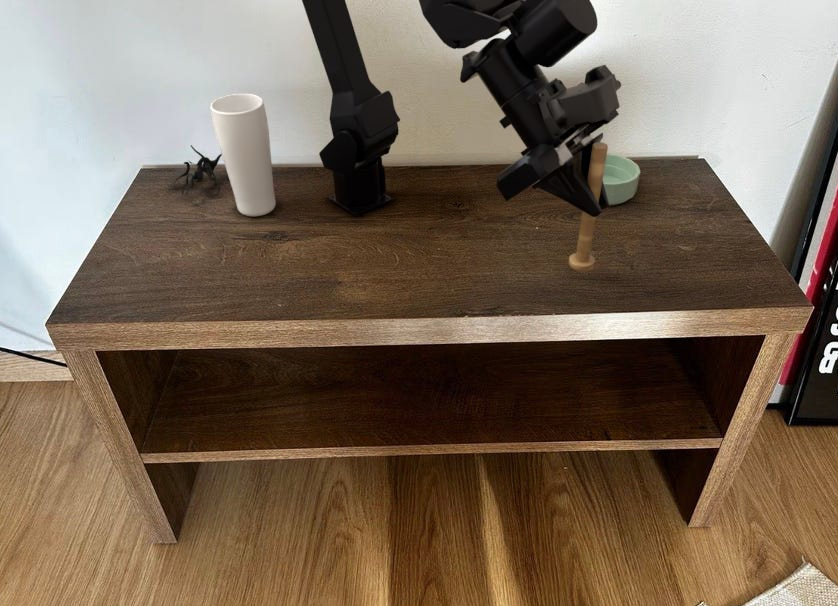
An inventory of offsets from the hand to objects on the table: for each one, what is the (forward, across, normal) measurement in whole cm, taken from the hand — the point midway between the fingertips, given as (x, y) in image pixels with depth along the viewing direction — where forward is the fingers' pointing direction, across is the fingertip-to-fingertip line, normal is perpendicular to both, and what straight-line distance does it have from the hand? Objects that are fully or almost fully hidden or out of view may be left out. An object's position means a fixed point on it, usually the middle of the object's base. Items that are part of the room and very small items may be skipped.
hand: (601, 211), depth 78 cm
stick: (+4, 0, +6) cm, 8 cm away
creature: (-34, -10, +48) cm, 59 cm away
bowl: (+1, +22, +13) cm, 25 cm away
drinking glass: (-26, -10, +40) cm, 48 cm away
